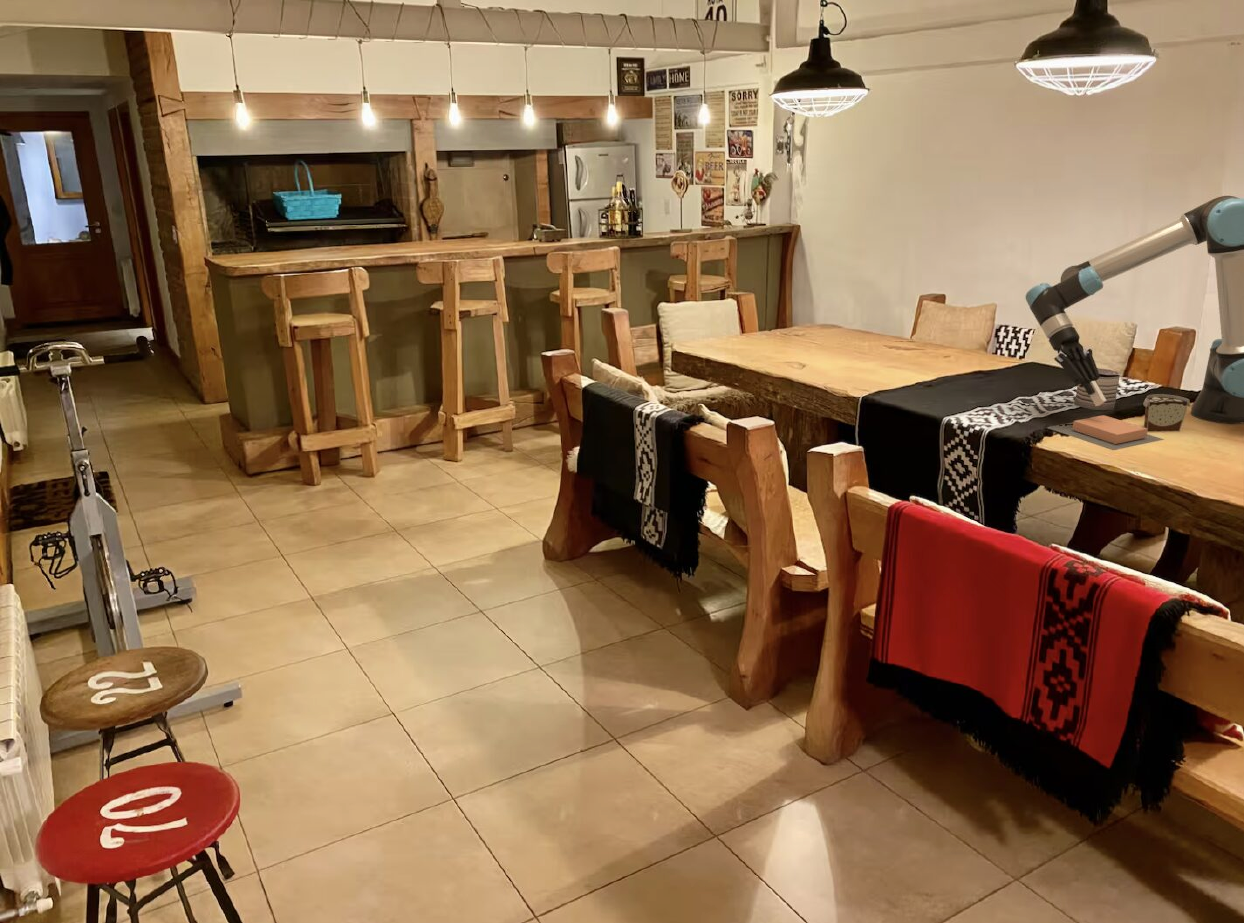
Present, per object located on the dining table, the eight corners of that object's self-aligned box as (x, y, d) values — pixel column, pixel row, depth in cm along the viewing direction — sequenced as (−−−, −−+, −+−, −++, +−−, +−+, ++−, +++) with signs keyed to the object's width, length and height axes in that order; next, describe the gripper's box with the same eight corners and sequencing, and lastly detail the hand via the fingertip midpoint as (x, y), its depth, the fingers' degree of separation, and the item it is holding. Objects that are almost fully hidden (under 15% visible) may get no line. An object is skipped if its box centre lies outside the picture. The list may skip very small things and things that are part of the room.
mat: (1094, 420, 274) (1095, 418, 273) (1163, 442, 255) (1164, 439, 255) (1045, 430, 266) (1045, 427, 266) (1112, 452, 247) (1113, 450, 247)
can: (1065, 404, 290) (1071, 366, 286) (1093, 400, 294) (1099, 363, 289) (1094, 414, 280) (1101, 375, 276) (1123, 410, 284) (1130, 371, 279)
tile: (1103, 415, 266) (1147, 428, 254) (1101, 425, 267) (1145, 438, 255) (1073, 420, 261) (1117, 434, 249) (1072, 430, 262) (1115, 445, 250)
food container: (1171, 426, 268) (1178, 393, 264) (1184, 433, 262) (1191, 399, 258) (1129, 427, 267) (1135, 394, 264) (1141, 434, 262) (1147, 400, 258)
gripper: (1067, 338, 273) (1107, 407, 265) (1035, 342, 268) (1075, 413, 260) (1086, 323, 267) (1127, 393, 259) (1053, 327, 262) (1094, 399, 253)
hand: (1101, 403), depth 259 cm, fingers closed
